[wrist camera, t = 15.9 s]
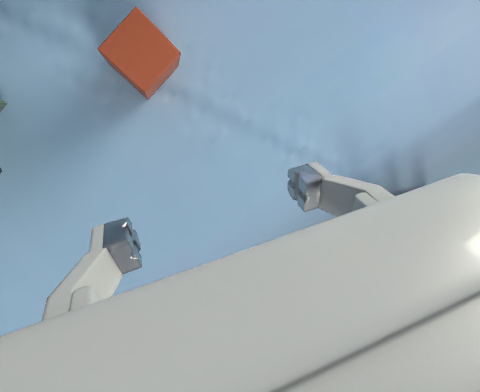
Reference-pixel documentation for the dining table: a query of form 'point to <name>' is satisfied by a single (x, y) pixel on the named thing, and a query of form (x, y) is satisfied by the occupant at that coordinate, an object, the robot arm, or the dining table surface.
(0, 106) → the drawer
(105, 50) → the block
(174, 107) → the dining table surface
